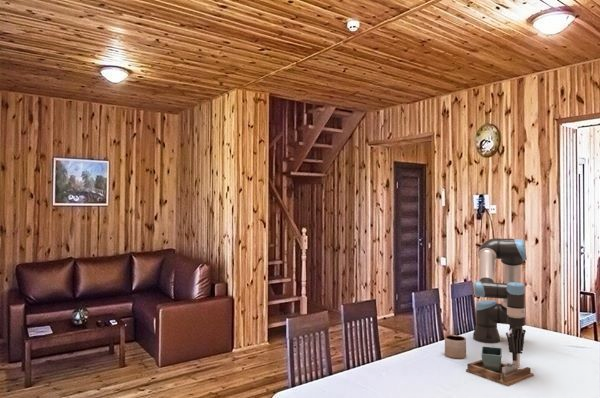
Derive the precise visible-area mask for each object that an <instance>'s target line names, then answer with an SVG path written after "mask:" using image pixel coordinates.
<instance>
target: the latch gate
mask: <svg viewBox="0 0 600 398" xmlns="http://www.w3.org/2000/svg"><path fill="white" fill-rule="evenodd" d="M506 365H507V366H505V367H502V379H503V376H504V375H507V374H510V373H512V372H515V371H516V364H512V363H506Z"/></svg>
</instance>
